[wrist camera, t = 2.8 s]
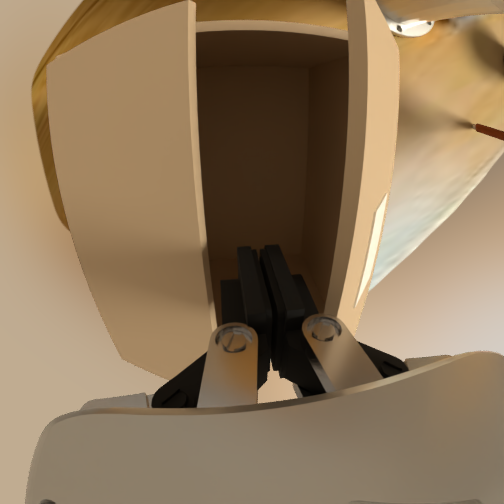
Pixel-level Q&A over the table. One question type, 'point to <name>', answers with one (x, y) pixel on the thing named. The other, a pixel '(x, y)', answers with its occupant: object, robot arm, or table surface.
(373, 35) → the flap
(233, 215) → the carton
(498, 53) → the table surface
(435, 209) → the table surface
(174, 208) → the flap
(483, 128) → the magnifying glass
